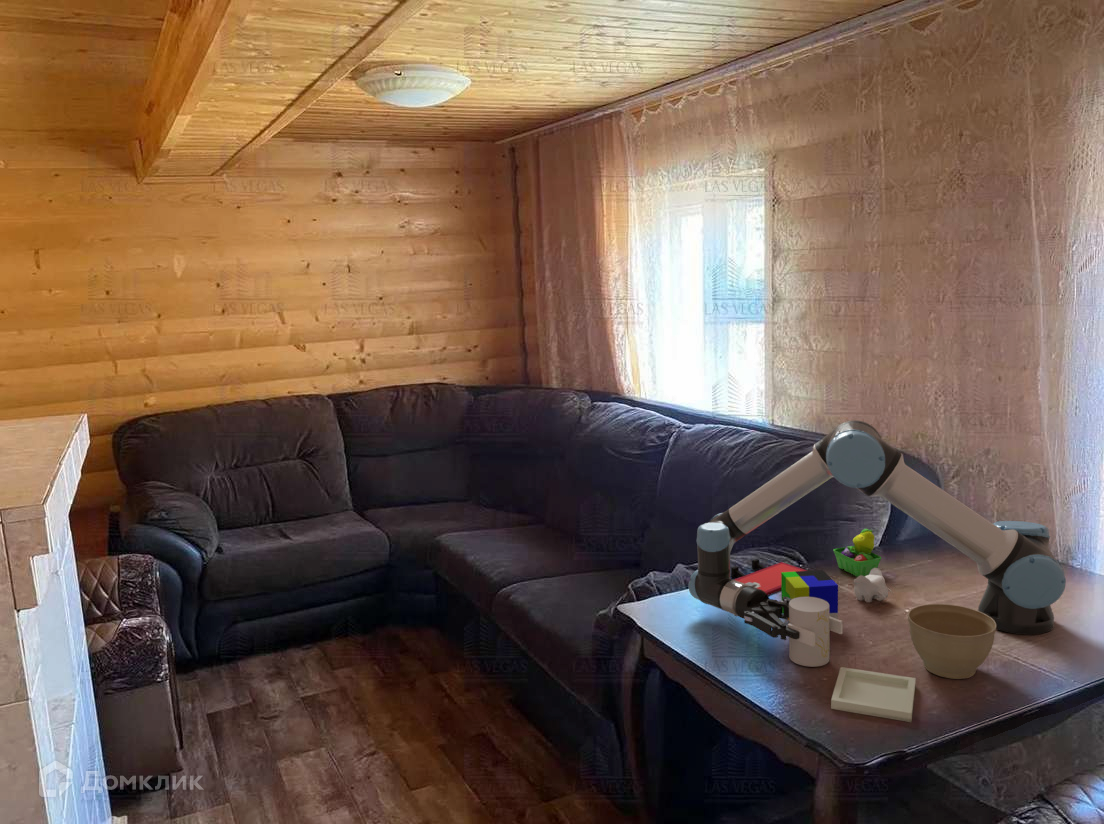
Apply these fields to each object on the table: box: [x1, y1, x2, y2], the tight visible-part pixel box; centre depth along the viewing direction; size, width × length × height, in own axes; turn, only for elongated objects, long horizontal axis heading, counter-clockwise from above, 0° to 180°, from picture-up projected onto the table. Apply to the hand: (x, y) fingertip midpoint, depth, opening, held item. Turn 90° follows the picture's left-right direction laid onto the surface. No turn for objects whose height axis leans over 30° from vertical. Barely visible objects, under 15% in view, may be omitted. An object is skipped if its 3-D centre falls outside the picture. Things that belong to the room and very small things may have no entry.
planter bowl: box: [907, 603, 997, 680], centre depth 173 cm, size 16×16×11 cm
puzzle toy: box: [780, 569, 839, 620], centre depth 200 cm, size 10×10×10 cm
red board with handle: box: [730, 558, 808, 597], centre depth 225 cm, size 30×3×15 cm
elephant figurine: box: [853, 568, 894, 603], centre depth 209 cm, size 8×10×7 cm
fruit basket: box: [833, 528, 882, 578], centre depth 228 cm, size 11×9×11 cm
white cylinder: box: [788, 597, 830, 668], centre depth 180 cm, size 8×8×12 cm
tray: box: [830, 666, 917, 723], centre depth 164 cm, size 14×14×2 cm
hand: (827, 633), depth 176 cm, fingers closed on white cylinder, 8 cm apart
